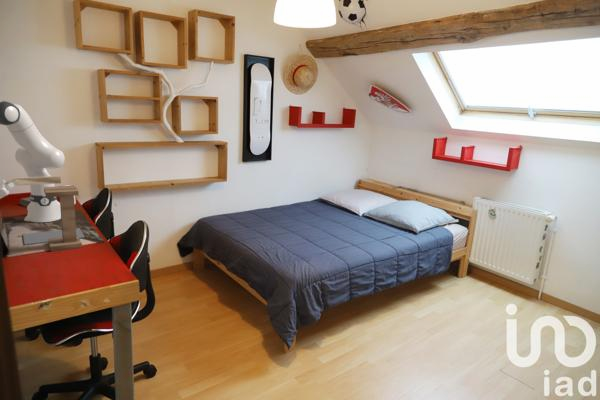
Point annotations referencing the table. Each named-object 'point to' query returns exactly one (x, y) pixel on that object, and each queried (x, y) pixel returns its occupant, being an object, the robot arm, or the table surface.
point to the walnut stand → (65, 218)
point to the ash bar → (36, 180)
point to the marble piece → (25, 201)
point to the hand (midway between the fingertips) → (17, 180)
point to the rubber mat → (46, 236)
